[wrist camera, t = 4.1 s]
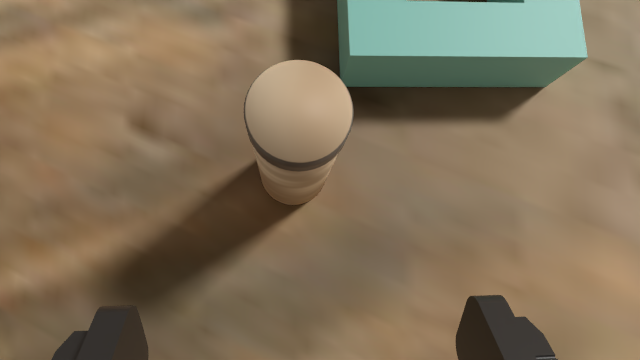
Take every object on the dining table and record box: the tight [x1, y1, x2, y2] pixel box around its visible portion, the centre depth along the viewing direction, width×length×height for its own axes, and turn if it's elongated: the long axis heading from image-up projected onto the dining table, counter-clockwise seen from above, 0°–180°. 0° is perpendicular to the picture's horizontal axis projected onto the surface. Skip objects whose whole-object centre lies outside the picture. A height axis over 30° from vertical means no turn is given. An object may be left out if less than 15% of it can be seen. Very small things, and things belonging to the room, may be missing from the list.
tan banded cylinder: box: [244, 60, 354, 205], centre depth 18 cm, size 3×3×9 cm
